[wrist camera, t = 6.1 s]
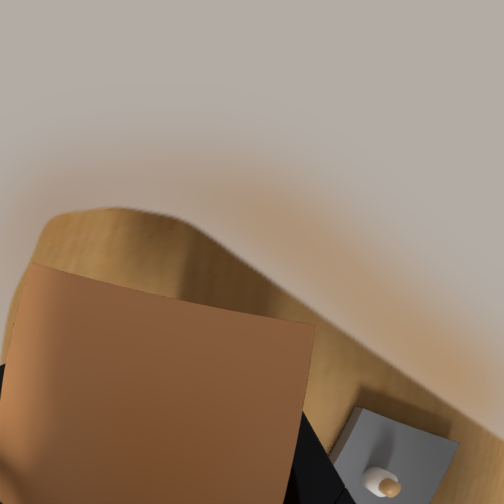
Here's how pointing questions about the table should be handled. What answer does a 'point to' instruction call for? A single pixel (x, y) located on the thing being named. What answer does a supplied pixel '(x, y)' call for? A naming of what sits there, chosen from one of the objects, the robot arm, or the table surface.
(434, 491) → the plate
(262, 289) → the table surface
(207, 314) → the orange brown rectangular block
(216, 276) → the table surface
